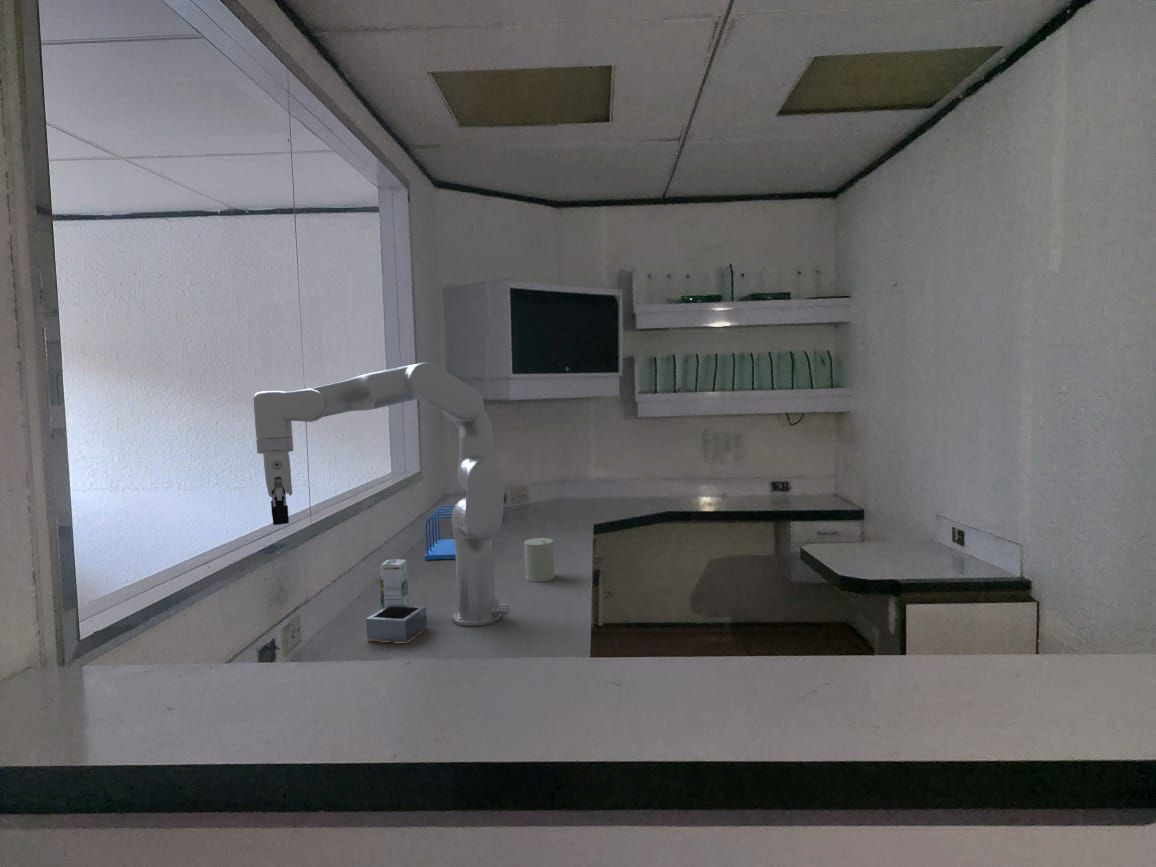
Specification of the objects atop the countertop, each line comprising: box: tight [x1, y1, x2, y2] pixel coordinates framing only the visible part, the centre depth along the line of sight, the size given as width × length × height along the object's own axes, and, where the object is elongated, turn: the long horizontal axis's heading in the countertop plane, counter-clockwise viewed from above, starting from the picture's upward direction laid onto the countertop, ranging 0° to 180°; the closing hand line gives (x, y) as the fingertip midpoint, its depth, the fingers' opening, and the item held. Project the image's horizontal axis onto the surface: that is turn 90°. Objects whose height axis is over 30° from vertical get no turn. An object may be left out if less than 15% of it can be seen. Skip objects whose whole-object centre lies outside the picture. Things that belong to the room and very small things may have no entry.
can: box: [523, 537, 556, 583], centre depth 210 cm, size 9×9×12 cm
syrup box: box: [379, 558, 409, 610], centre depth 179 cm, size 6×6×14 cm
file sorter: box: [424, 504, 456, 561], centre depth 249 cm, size 25×17×15 cm
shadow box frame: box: [365, 605, 428, 644], centre depth 165 cm, size 10×10×6 cm
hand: (280, 520), depth 154 cm, fingers open, 9 cm apart
